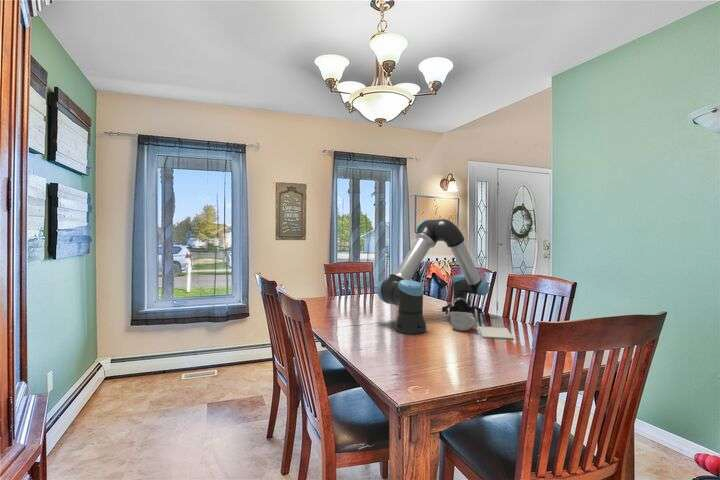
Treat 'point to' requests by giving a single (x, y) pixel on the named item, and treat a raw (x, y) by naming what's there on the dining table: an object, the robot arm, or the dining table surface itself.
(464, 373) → the dining table surface
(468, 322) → the teacup
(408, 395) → the dining table surface
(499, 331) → the placemat
